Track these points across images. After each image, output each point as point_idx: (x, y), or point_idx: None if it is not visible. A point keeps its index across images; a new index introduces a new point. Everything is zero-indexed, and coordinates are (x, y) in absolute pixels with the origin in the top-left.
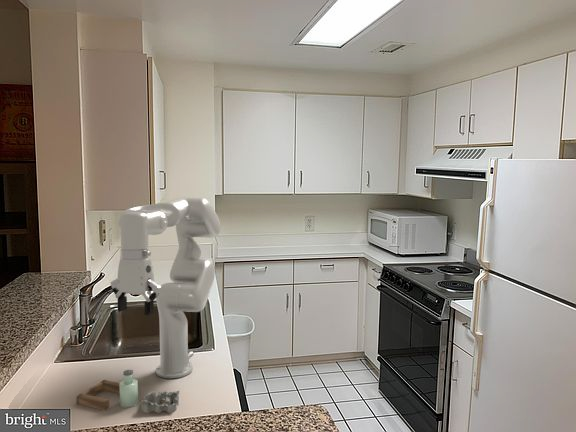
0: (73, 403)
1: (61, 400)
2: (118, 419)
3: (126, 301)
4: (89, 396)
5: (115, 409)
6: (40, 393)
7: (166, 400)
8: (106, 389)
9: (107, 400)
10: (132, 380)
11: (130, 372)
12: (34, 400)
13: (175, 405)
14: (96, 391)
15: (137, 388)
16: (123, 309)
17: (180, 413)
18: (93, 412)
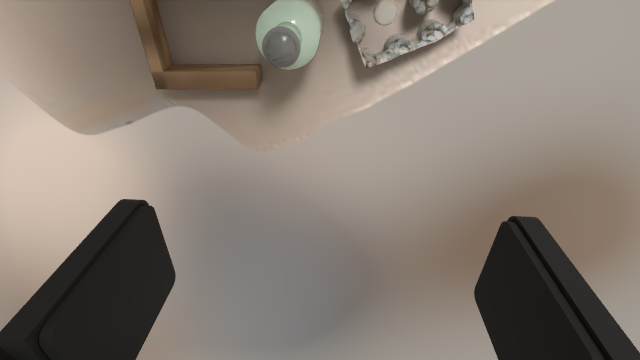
0: None
1: (112, 80)
2: (328, 104)
3: (98, 276)
4: (189, 77)
5: None
6: (23, 70)
7: (432, 7)
8: None
9: (255, 77)
10: (300, 34)
11: (295, 51)
12: (57, 105)
13: (465, 6)
14: (154, 13)
15: (317, 19)
16: (161, 248)
17: (483, 16)
18: (244, 99)
